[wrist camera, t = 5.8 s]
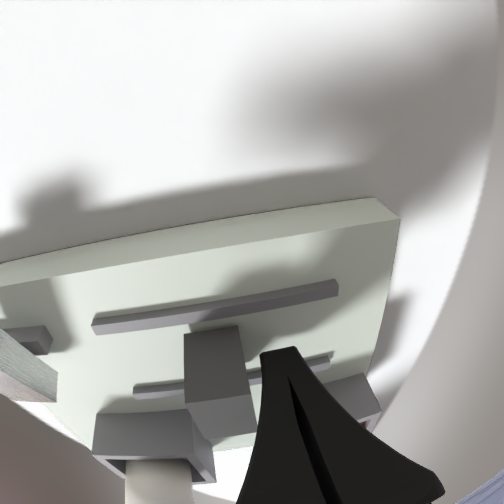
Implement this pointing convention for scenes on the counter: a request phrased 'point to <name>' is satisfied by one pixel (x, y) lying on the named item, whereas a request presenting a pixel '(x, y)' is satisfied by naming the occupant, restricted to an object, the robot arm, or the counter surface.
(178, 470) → the button white
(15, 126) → the counter surface
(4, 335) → the rocker
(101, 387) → the panel
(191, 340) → the slider knob
